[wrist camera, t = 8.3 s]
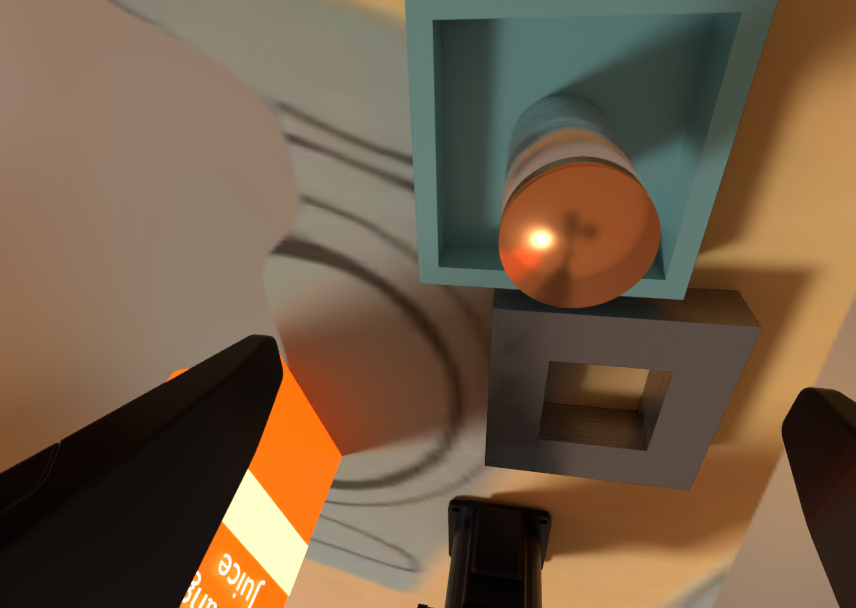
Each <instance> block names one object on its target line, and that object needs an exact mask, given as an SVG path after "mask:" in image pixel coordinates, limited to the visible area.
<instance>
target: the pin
mask: <svg viewBox="0 0 856 608" xmlns="http://www.w3.org/2000/svg"><path fill="white" fill-rule="evenodd" d="M660 235H661V228H660V220H659V217H658V213H657V210H656V208H655V206H654V204H653V202H652V200H651V198H650V197H649V195H648V193H647V191H646V189H645V188H644V186H643V184H642V182H641V180H640V179H639V177H638V175H637V173H636V171H635V170H634V168H633V166H632V164H631V162H630V161H629V159H628V157H627V155H626V153H625V152H624V150H623V148H622V146H621V144H620V142H619V141H618V139H617V137H616V135H615V133H614V132H613V130H612V128H611V126H610V124H609V123H608V121H607V119H606V117H605V115H604V114H603V113H602V111H601V110H600V109H599V108H598V107H597V106H596V105H595V104H594V103H592V102H591V101H590V100H588V99H586V98H584V97H581V96H578V95H573V94H556V95H551V96H548V97H545V98H543V99H541V100H539V101H537V102H535V103H534V104H532V105H531V106H529V107H528V108H527V109H526V110H525V111H524V112H523V113H522V114H521V115H520V117H519V118H518V120H517V121H516V123H515V125H514V127H513V129H512V132H511V135H510V138H509V145H508V155H507V165H506V174H505V184H504V194H503V204H502V213H501V223H500V233H499V253H500V259H501V262H502V265H503V267H504V269H505V271H506V273H507V275H508V276H509V278H510V279H511V281H512V282H513V283H514V284H515V285H516V286H517V287H518V288H519V289H520V290H521V291H522V292H524V293H525V294H526V295H528V296H530V297H531V298H533V299H535V300H537V301H539V302H542V303H545V304H548V305H552V306H556V307H563V308H583V307H590V306H595V305H599V304H602V303H605V302H608V301H610V300H612V299H615V298H616V297H618V296H620V295H622V294H624V293H625V292H626V291H628V290H629V289H631V288H632V287H633V286H634V285H635V284H636V283H638V282H639V281H640V280H641V278H642V277H643V276H644V275H645V274H646V273H647V271H648V270H649V268H650V267H651V265H652V263H653V261H654V259H655V257H656V254H657V251H658V248H659V243H660Z"/></svg>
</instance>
